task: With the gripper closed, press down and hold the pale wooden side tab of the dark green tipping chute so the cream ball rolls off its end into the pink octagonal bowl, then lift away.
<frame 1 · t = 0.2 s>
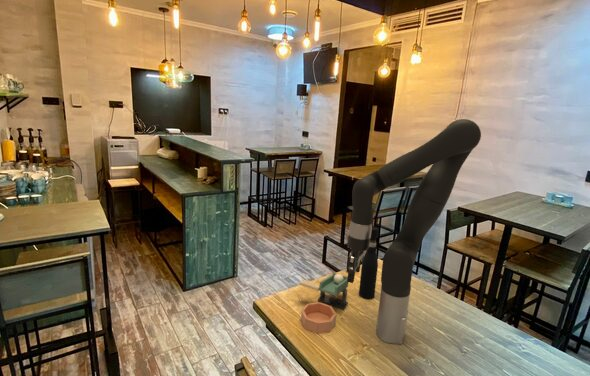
hand: (353, 276, 112), 18 cm above the table, tool pointing down, fingers open, 8 cm apart
chute stand: (332, 302, 126), on the table
wine bottle: (366, 295, 133), on the table
ball: (338, 278, 128), point 8 cm above the table, tilted 6°, touching chute
chute: (324, 283, 126), point 7 cm above the table, hinge at 12.0°, touching ball
pink octagonal bowl: (318, 321, 114), on the table
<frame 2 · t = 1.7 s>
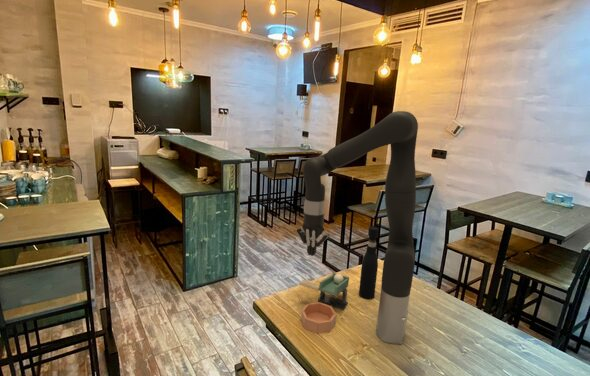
hand: (311, 254, 120), 21 cm above the table, tool pointing down, fingers closed
nothing on the table moved.
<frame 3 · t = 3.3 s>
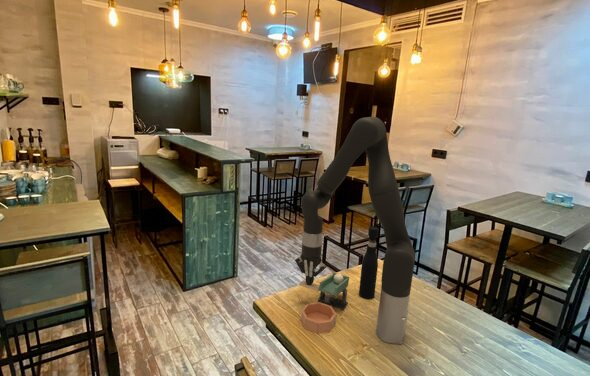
hand: (309, 283, 123), 9 cm above the table, tool pointing down, fingers closed
chute: (324, 283, 126), point 7 cm above the table, hinge at 10.5°, touching ball, gripper
everything else where it was.
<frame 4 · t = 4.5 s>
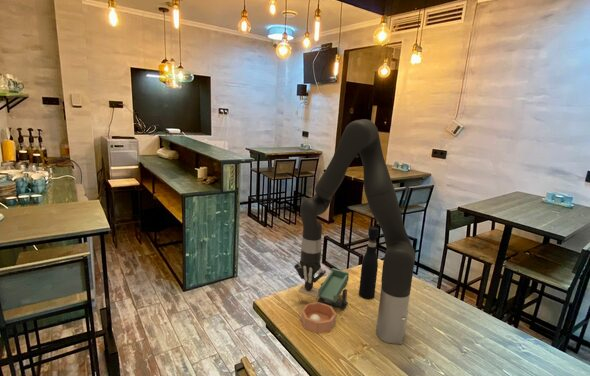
hand: (308, 289, 123), 6 cm above the table, tool pointing down, fingers closed
ball: (314, 320, 111), point 2 cm above the table, tilted 93°, touching pink octagonal bowl
chute: (324, 284, 126), point 7 cm above the table, hinge at -11.0°, touching gripper
everything else where it was.
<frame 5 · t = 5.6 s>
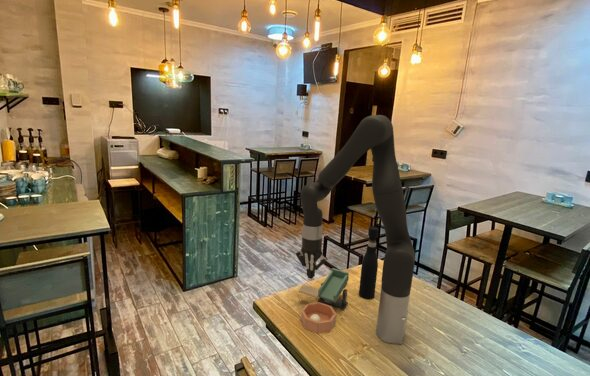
hand: (310, 277, 122), 12 cm above the table, tool pointing down, fingers closed
chute: (324, 284, 126), point 7 cm above the table, hinge at -11.2°
everything else where it was.
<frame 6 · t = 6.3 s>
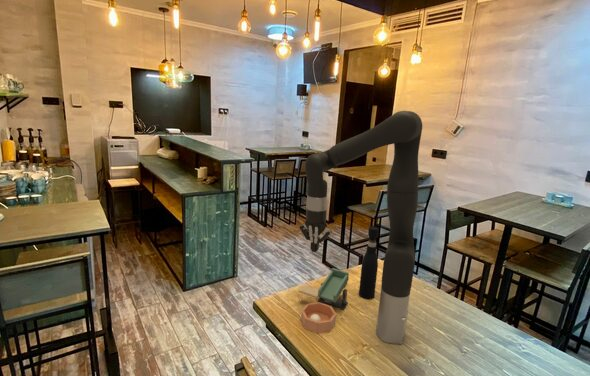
hand: (314, 251, 120), 22 cm above the table, tool pointing down, fingers closed
nothing on the table moved.
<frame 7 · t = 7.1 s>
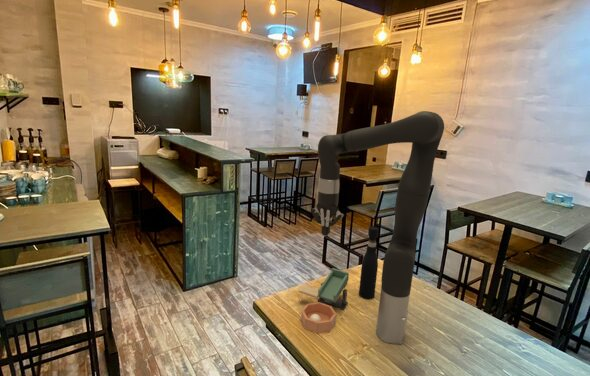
hand: (325, 235, 119), 29 cm above the table, tool pointing down, fingers closed
nothing on the table moved.
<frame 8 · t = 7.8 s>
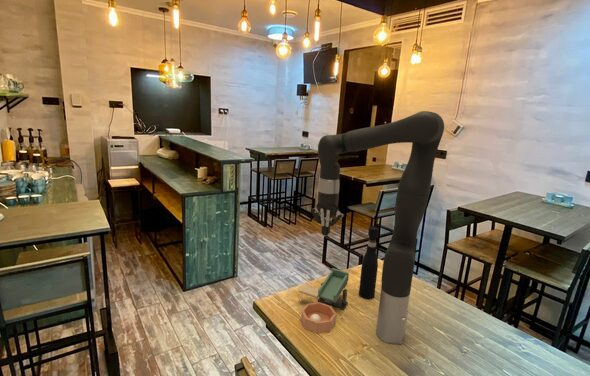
hand: (325, 235, 119), 29 cm above the table, tool pointing down, fingers closed
nothing on the table moved.
at the end: ball inside the target area on the pink octagonal bowl (2.8 cm from its centre), point 2.5 cm above the pink octagonal bowl's base; ball touching pink octagonal bowl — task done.
